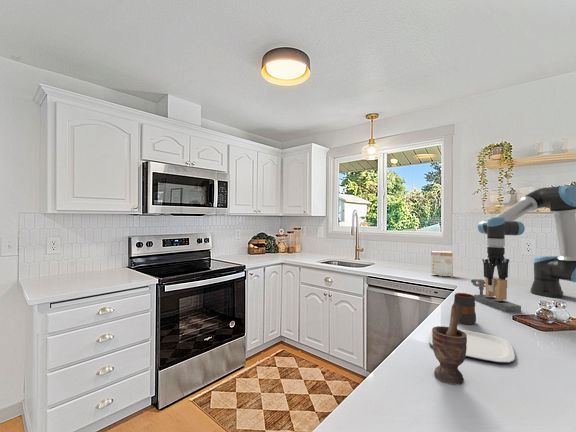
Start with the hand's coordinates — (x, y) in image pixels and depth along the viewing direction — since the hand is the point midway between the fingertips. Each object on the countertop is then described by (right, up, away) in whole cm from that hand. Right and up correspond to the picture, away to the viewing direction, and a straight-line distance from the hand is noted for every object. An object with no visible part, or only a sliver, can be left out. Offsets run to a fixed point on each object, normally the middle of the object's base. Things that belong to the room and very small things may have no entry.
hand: (495, 291), depth 156 cm
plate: (-44, -7, -50) cm, 67 cm away
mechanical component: (+4, -8, +17) cm, 19 cm away
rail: (0, -8, 0) cm, 8 cm away
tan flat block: (0, -3, 0) cm, 3 cm away
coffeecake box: (+14, -9, +82) cm, 84 cm away
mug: (-30, -7, -24) cm, 39 cm away
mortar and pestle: (-63, -7, -70) cm, 94 cm away
